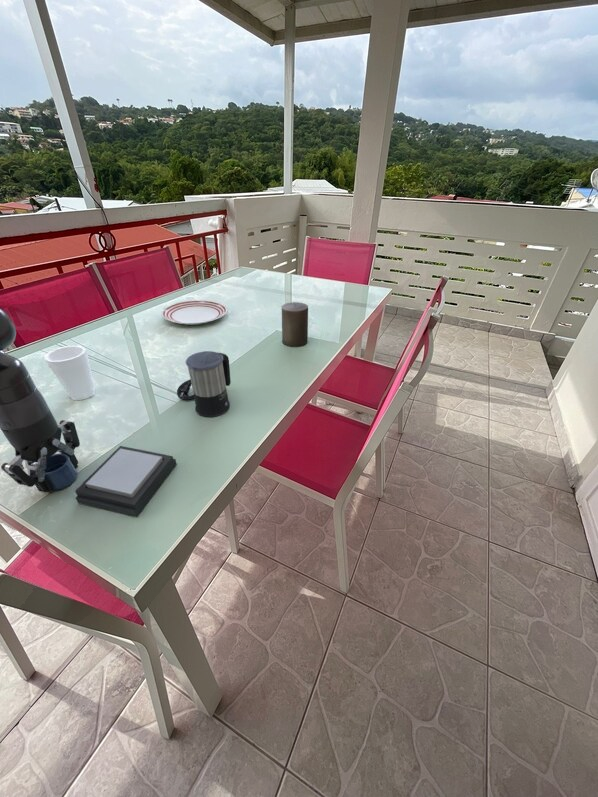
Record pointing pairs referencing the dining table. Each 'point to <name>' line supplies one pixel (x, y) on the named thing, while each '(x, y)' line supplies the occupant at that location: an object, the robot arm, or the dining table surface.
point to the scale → (120, 502)
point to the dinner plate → (194, 312)
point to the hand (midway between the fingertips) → (61, 478)
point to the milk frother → (207, 383)
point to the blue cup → (60, 471)
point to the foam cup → (72, 371)
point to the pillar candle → (294, 324)
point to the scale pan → (125, 473)
